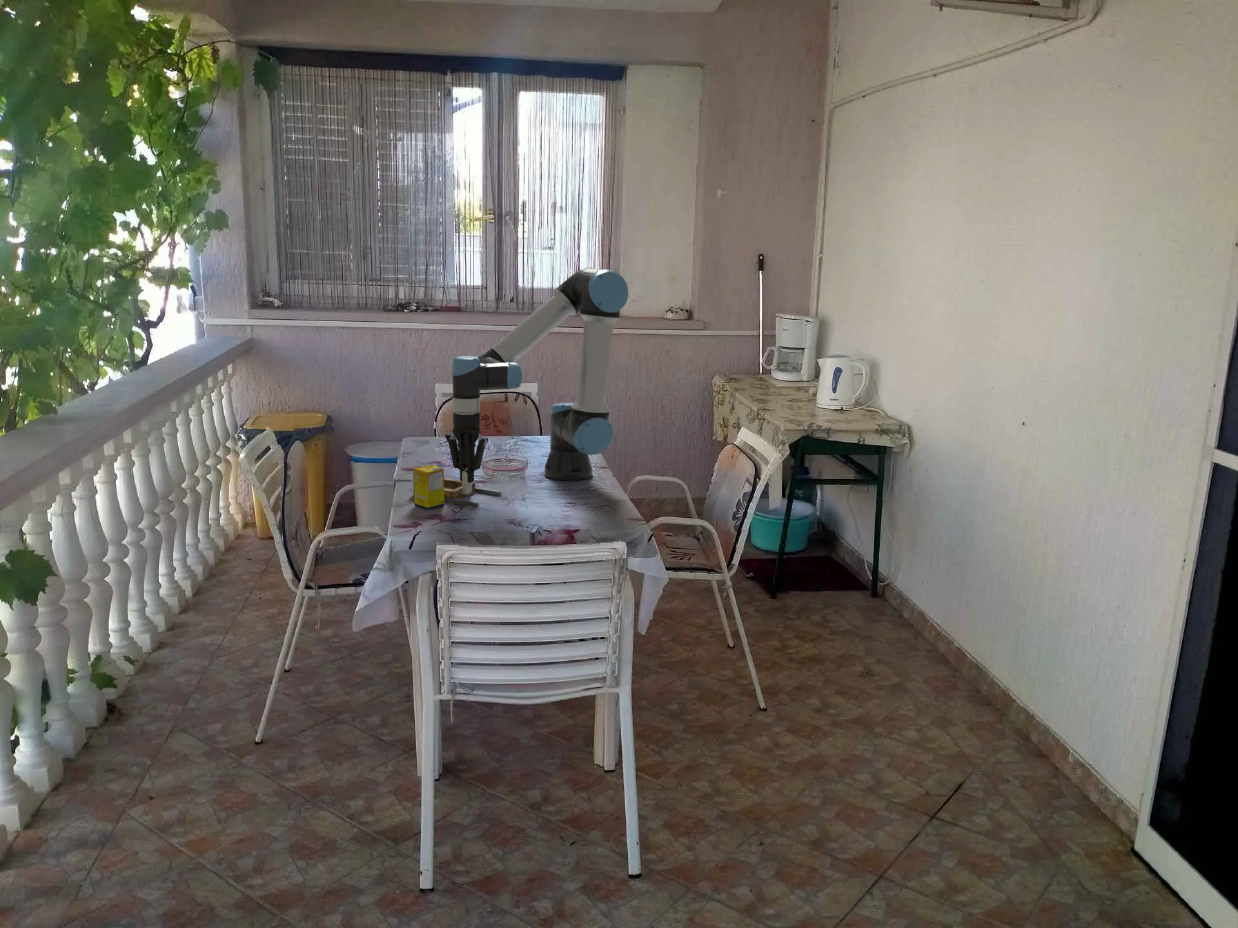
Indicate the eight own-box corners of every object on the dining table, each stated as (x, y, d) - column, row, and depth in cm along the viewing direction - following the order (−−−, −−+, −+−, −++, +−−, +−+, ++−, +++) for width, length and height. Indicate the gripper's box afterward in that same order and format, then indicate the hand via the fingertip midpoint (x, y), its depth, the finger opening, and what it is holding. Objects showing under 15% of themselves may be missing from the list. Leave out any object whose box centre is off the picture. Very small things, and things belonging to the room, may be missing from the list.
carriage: (475, 492, 271) (475, 482, 271) (454, 502, 261) (454, 491, 261) (443, 487, 275) (442, 477, 275) (421, 496, 265) (421, 486, 265)
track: (501, 495, 270) (501, 471, 268) (476, 507, 257) (476, 483, 256) (436, 485, 278) (436, 462, 276) (409, 496, 265) (409, 472, 264)
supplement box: (430, 501, 261) (430, 464, 258) (444, 506, 258) (444, 468, 255) (414, 506, 257) (413, 467, 254) (428, 510, 253) (427, 471, 250)
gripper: (493, 412, 261) (493, 492, 267) (453, 407, 266) (454, 486, 271) (479, 416, 254) (480, 499, 260) (439, 411, 259) (440, 492, 265)
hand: (467, 492), depth 266 cm, fingers closed
